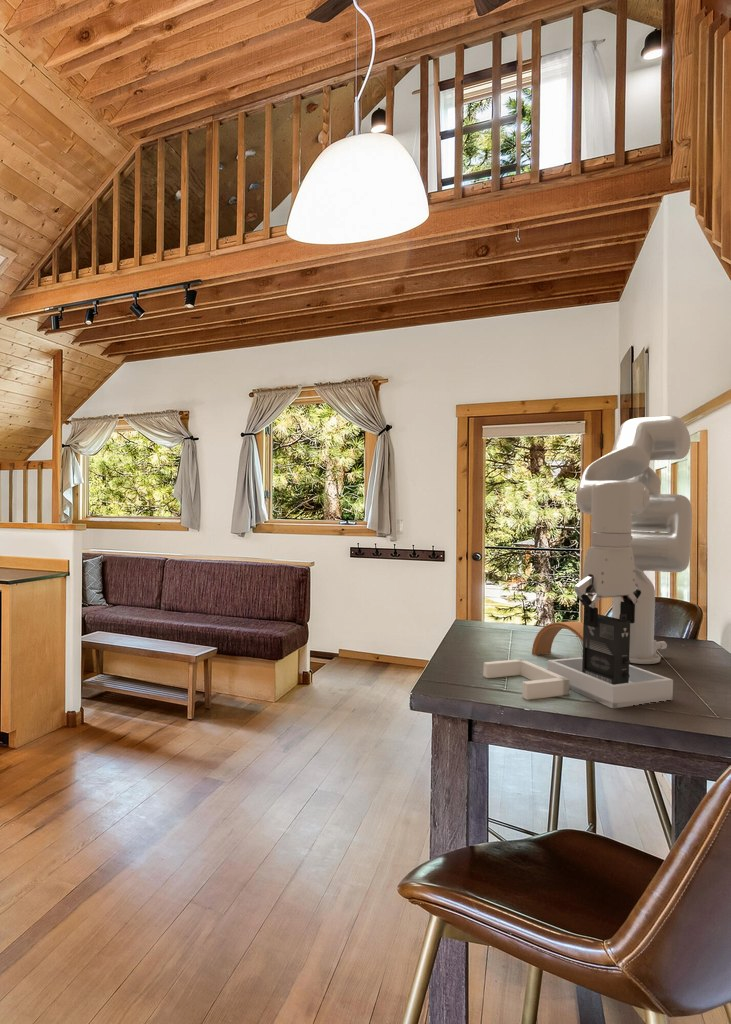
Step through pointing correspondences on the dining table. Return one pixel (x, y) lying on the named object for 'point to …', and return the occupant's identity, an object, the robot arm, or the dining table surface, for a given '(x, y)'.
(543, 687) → the cream piece
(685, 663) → the dining table surface
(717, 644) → the dining table surface
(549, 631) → the arch
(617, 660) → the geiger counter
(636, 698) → the parts tray
